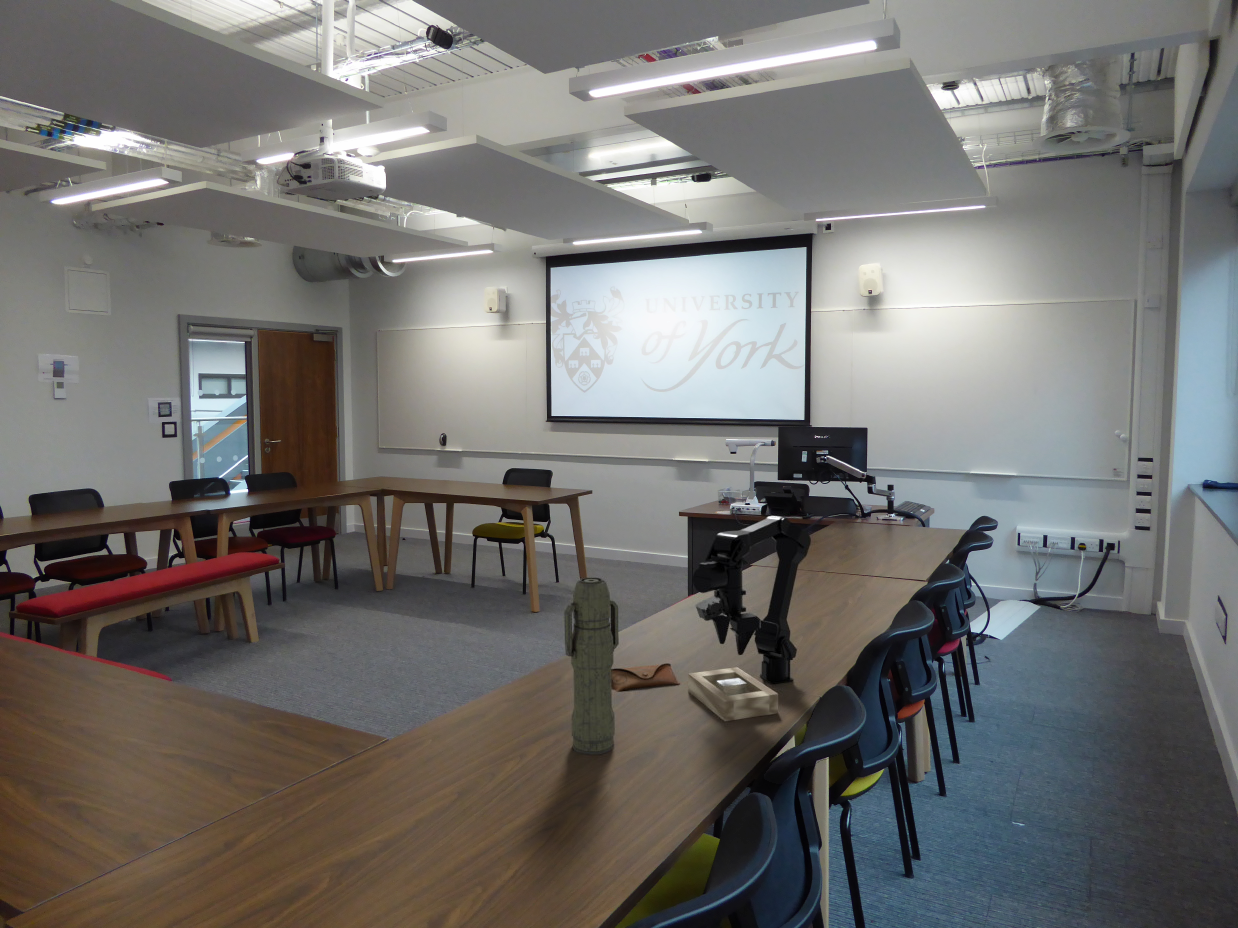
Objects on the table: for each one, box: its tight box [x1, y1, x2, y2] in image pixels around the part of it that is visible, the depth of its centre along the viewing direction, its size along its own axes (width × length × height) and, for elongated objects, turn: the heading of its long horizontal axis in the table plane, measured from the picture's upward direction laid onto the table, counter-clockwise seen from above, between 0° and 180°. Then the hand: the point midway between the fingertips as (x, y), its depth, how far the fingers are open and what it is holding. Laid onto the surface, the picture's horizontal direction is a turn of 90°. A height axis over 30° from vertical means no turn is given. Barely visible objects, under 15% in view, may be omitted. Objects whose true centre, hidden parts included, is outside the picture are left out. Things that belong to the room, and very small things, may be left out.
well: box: [687, 666, 779, 722], centre depth 189 cm, size 14×20×4 cm
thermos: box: [563, 577, 620, 756], centre depth 165 cm, size 9×12×35 cm
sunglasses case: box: [611, 662, 681, 693], centre depth 204 cm, size 18×7×7 cm
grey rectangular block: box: [716, 678, 747, 696], centre depth 189 cm, size 6×4×4 cm, turn 109°
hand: (731, 649), depth 192 cm, fingers open, 9 cm apart
